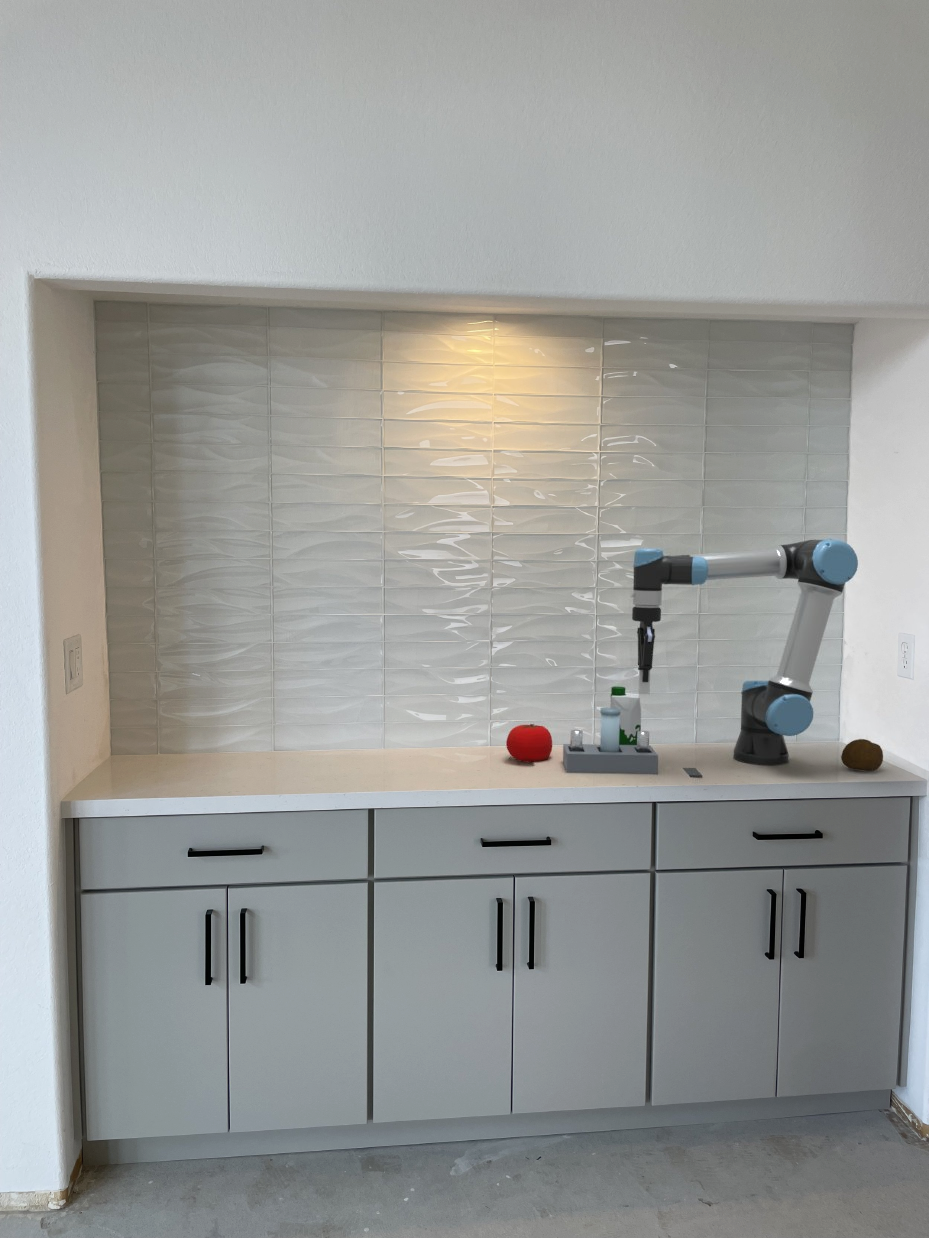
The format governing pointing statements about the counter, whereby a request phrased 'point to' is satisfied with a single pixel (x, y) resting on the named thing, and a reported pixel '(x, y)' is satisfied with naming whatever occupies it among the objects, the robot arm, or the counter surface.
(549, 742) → the tomato
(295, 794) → the counter surface
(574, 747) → the plunger
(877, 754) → the potato
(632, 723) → the milk carton
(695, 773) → the mat
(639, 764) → the housing
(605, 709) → the cartridge
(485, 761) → the counter surface
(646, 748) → the plunger
